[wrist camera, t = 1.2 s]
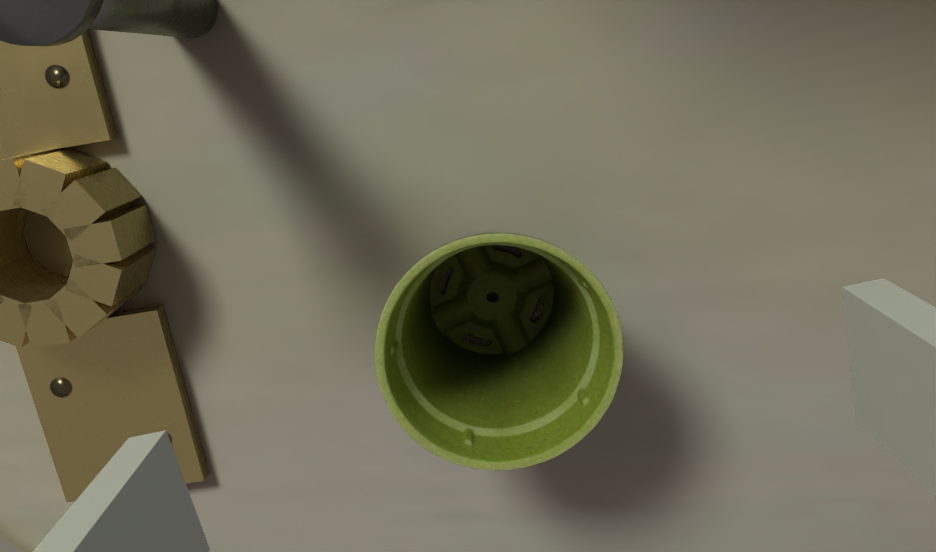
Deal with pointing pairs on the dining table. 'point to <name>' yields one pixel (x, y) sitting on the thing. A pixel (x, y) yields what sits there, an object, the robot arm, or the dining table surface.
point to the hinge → (82, 273)
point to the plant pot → (499, 352)
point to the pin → (101, 19)
